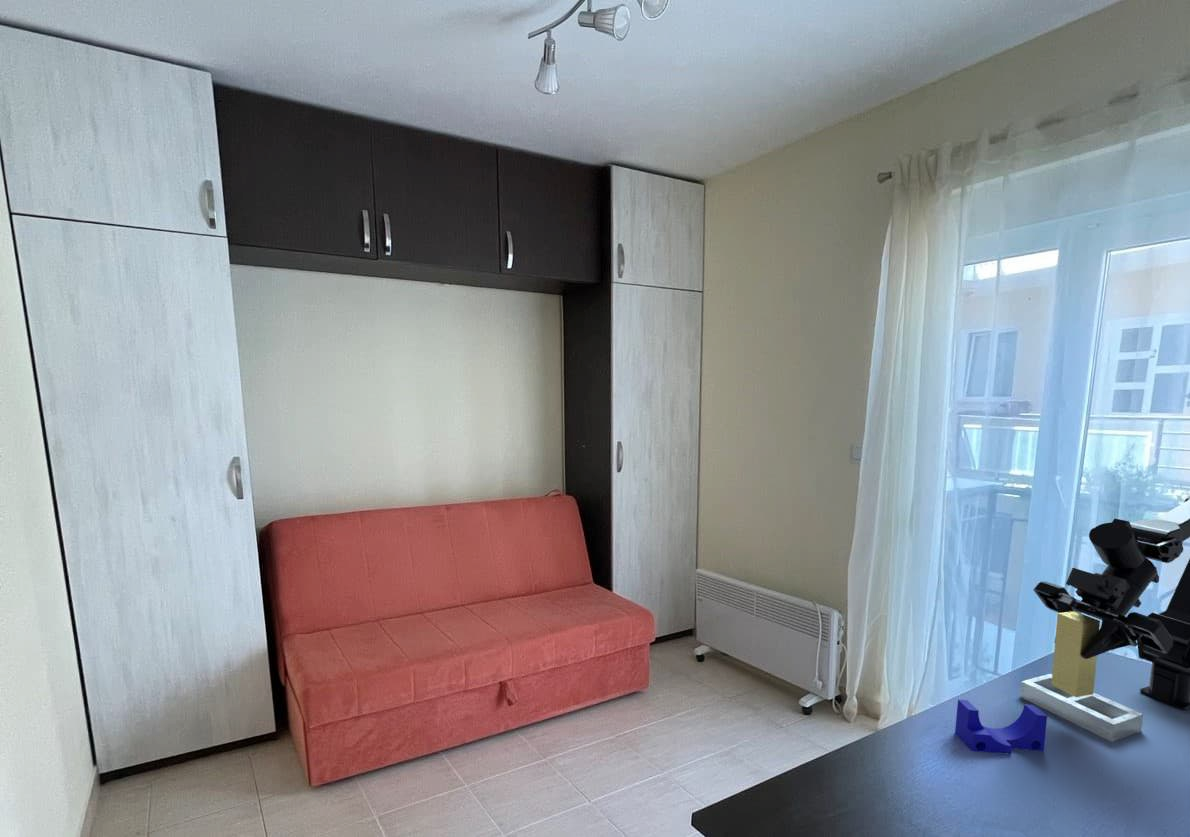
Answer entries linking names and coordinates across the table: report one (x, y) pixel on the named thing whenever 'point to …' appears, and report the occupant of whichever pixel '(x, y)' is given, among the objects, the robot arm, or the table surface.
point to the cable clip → (1001, 730)
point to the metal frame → (1083, 709)
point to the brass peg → (1074, 654)
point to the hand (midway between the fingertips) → (1069, 650)
